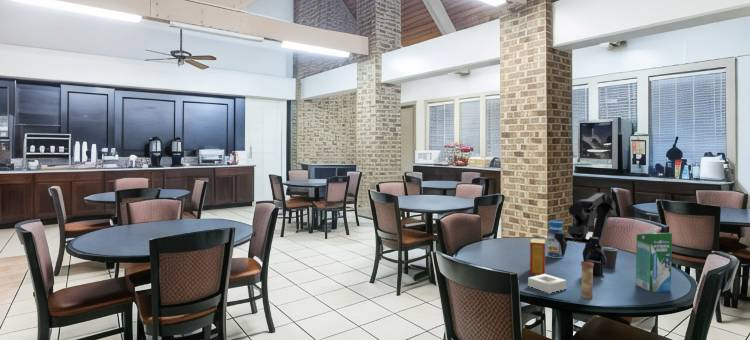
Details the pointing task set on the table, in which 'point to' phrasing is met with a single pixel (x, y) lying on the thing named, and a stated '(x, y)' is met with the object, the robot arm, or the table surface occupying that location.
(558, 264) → the table surface
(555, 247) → the beverage bottle
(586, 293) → the tan cylindrical container
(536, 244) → the baking soda box
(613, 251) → the coffee cup
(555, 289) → the socket
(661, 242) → the milk carton
